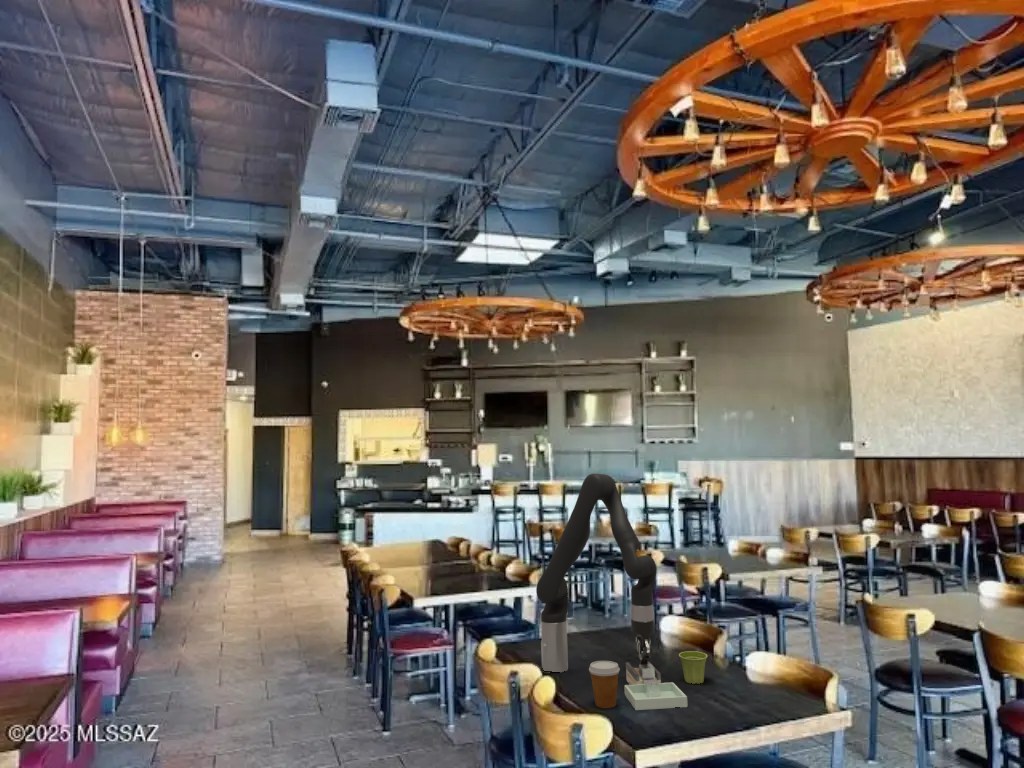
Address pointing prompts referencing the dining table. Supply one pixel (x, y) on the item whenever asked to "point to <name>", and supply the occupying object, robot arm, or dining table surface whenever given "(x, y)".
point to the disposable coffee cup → (604, 683)
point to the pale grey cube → (651, 688)
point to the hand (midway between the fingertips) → (644, 670)
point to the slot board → (633, 675)
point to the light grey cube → (646, 672)
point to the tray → (667, 699)
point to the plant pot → (693, 666)
